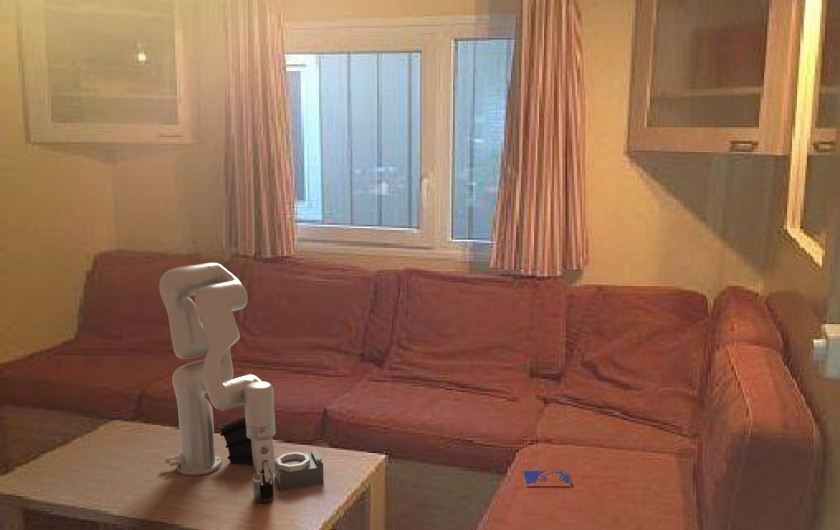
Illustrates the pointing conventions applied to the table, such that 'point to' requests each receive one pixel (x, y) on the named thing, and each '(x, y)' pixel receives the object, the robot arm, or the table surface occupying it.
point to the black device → (238, 442)
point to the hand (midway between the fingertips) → (264, 489)
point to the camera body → (298, 470)
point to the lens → (257, 489)
